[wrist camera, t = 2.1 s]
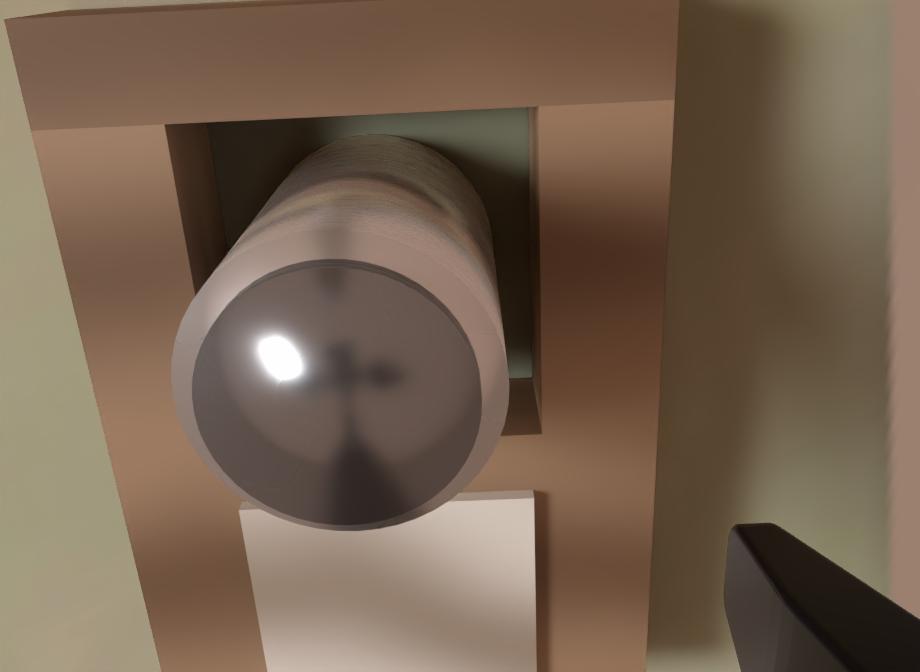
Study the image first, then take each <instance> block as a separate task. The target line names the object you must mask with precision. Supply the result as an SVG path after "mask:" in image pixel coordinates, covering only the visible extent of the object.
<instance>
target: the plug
mask: <svg viewBox="0 0 920 672" xmlns="http://www.w3.org/2000/svg"><path fill="white" fill-rule="evenodd" d="M171 382H172V390H173V398H174V402H175V406H176V410H177V413H178V417H179V420H180V422H181V424H182V427H183V429H184V431H185V434H186V436H187V438H188V440H189V441H190V443H191V445H192V446H193V448H194V450H195V451H196V453H197V455H198V456H199V457H200V458H201V460H202V461H203V462H204V464H205V465H206V466H207V467H208V469H209V470H210V471H211V472H212V473H213V474H214V475H215V476H216V477H217V478H218V479H219V480H220V481H221V482H222V483H223V484H224V485H225V486H227V487H228V488H229V489H230V490H232V491H233V492H234V493H235V494H237V495H238V496H239V497H241V498H242V499H244V500H246V501H247V502H249V503H250V504H252V505H254V506H255V507H257V508H259V509H261V510H263V511H265V512H267V513H269V514H271V515H273V516H275V517H278V518H281V519H284V520H287V521H290V522H292V523H295V524H299V525H304V526H308V527H312V528H317V529H325V530H333V531H364V530H374V529H381V528H385V527H390V526H395V525H399V524H402V523H405V522H408V521H411V520H414V519H416V518H419V517H421V516H423V515H425V514H427V513H429V512H431V511H434V510H435V509H437V508H438V507H440V506H442V505H443V504H445V503H446V502H448V501H450V500H451V499H452V498H453V497H455V496H456V495H457V494H458V493H460V492H461V491H462V490H463V489H465V488H466V487H467V486H468V484H469V483H470V482H471V481H472V480H473V479H474V478H475V477H476V476H477V475H478V474H479V473H480V471H481V470H482V468H483V467H484V466H485V464H486V463H487V461H488V460H489V459H490V457H491V455H492V453H493V451H494V449H495V447H496V445H497V443H498V441H499V439H500V436H501V433H502V430H503V427H504V424H505V420H506V415H507V410H508V405H509V376H508V366H507V357H506V349H505V341H504V333H503V325H502V316H501V308H500V300H499V292H498V284H497V276H496V267H495V259H494V251H493V243H492V235H491V228H490V224H489V220H488V215H487V213H486V210H485V208H484V205H483V203H482V200H481V199H480V197H479V195H478V193H477V191H476V190H475V188H474V187H473V185H472V184H471V183H470V181H469V180H468V179H467V177H466V176H465V175H464V174H463V173H462V172H461V171H460V170H459V169H458V168H457V167H456V166H455V165H454V164H453V163H452V162H450V161H449V160H448V159H447V158H445V157H444V156H443V155H441V154H439V153H438V152H436V151H434V150H433V149H431V148H429V147H427V146H425V145H422V144H420V143H418V142H415V141H412V140H409V139H405V138H402V137H396V136H390V135H373V134H368V135H360V136H352V137H348V138H344V139H340V140H337V141H335V142H332V143H330V144H327V145H325V146H323V147H321V148H320V149H318V150H316V151H314V152H313V153H311V154H310V155H308V156H307V157H306V158H304V159H303V160H302V161H301V162H299V163H298V164H297V165H296V166H295V168H294V169H293V170H292V171H291V172H290V173H289V174H288V175H287V177H286V178H285V179H284V180H283V182H282V183H281V184H280V186H279V187H278V188H277V190H276V191H275V192H274V194H273V195H272V196H271V197H270V199H269V200H268V201H267V203H266V204H265V205H264V207H263V208H262V209H261V211H260V212H259V213H258V214H257V216H256V217H255V218H254V220H253V221H252V222H251V224H250V225H249V226H248V228H247V229H246V230H245V231H244V233H243V234H242V235H241V237H240V238H239V239H238V241H237V242H236V243H235V245H234V246H233V247H232V248H231V250H230V251H229V252H228V254H227V255H226V256H225V258H224V259H223V260H222V262H221V263H220V264H219V266H218V267H217V268H216V269H215V271H214V272H213V273H212V275H211V276H210V277H209V279H208V280H207V281H206V283H205V284H204V285H203V286H202V288H201V289H200V291H199V292H198V293H197V295H196V296H195V298H194V299H193V300H192V302H191V303H190V305H189V307H188V309H187V311H186V313H185V315H184V317H183V319H182V321H181V324H180V327H179V330H178V333H177V335H176V338H175V343H174V349H173V354H172V362H171Z"/></svg>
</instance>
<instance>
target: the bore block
mask: <svg viewBox="0 0 920 672" xmlns="http://www.w3.org/2000/svg"><path fill="white" fill-rule="evenodd" d="M679 6H680V0H262V1H242V2H222V3H202V4H183V5H163V6H143V7H123V8H103V9H83V10H66V11H59V12H52V13H45V14H38V15H31V16H25V17H18V18H11V19H4V21H5V25H6V29H7V33H8V38H9V42H10V46H11V50H12V54H13V58H14V62H15V67H16V71H17V75H18V79H19V83H20V87H21V91H22V95H23V100H24V104H25V108H26V112H27V116H28V120H29V124H30V129H31V133H32V137H33V141H34V145H35V149H36V153H37V158H38V162H39V166H40V170H41V174H42V178H43V182H44V187H45V191H46V195H47V199H48V203H49V207H50V211H51V215H52V220H53V224H54V228H55V232H56V236H57V240H58V244H59V249H60V253H61V257H62V261H63V265H64V269H65V273H66V278H67V282H68V286H69V290H70V294H71V298H72V302H73V307H74V311H75V315H76V319H77V323H78V327H79V331H80V336H81V340H82V344H83V348H84V352H85V356H86V360H87V364H88V369H89V373H90V377H91V381H92V385H93V389H94V393H95V398H96V402H97V406H98V410H99V414H100V418H101V422H102V427H103V431H104V435H105V439H106V443H107V447H108V451H109V456H110V460H111V464H112V468H113V472H114V476H115V480H116V485H117V489H118V493H119V497H120V501H121V505H122V509H123V513H124V518H125V522H126V526H127V530H128V534H129V538H130V542H131V547H132V551H133V555H134V559H135V563H136V567H137V571H138V576H139V580H140V584H141V588H142V592H143V596H144V600H145V605H146V609H147V613H148V617H149V621H150V625H151V629H152V633H153V638H154V642H155V646H156V650H157V654H158V658H159V662H160V667H161V671H162V672H646V655H647V635H648V615H649V596H650V576H651V556H652V537H653V517H654V497H655V478H656V458H657V438H658V419H659V399H660V379H661V360H662V340H663V320H664V301H665V281H666V261H667V242H668V222H669V202H670V183H671V163H672V143H673V124H674V104H675V84H676V65H677V45H678V25H679ZM517 107H528V121H529V188H530V255H531V321H532V378H529V379H509V405H508V410H507V415H506V420H505V424H504V427H503V430H502V433H501V436H500V439H499V441H498V443H497V445H496V447H495V449H494V451H493V453H492V455H491V457H490V459H489V460H488V461H487V463H486V464H485V466H484V467H483V468H482V470H481V471H480V473H479V474H478V475H477V476H476V477H475V478H474V479H473V480H472V481H471V482H470V483H469V484H468V486H467V487H466V488H465V489H463V490H462V491H461V492H460V493H458V494H457V495H456V496H455V497H453V498H452V499H451V500H450V501H448V502H446V503H445V504H443V505H442V506H440V507H438V508H437V509H435V510H434V511H431V512H429V513H427V514H425V515H423V516H421V517H419V518H416V519H414V520H411V521H408V522H405V523H402V524H399V525H395V526H390V527H385V528H381V529H374V530H364V531H333V530H325V529H317V528H312V527H308V526H304V525H299V524H295V523H292V522H290V521H287V520H284V519H281V518H278V517H275V516H273V515H271V514H269V513H267V512H265V511H263V510H261V509H259V508H257V507H255V506H254V505H252V504H250V503H249V502H247V501H246V500H244V499H242V498H241V497H239V496H238V495H237V494H235V493H234V492H233V491H232V490H230V489H229V488H228V487H227V486H225V485H224V484H223V483H222V482H221V481H220V480H219V479H218V478H217V477H216V476H215V475H214V474H213V473H212V472H211V471H210V470H209V469H208V467H207V466H206V465H205V464H204V462H203V461H202V460H201V458H200V457H199V456H198V455H197V453H196V451H195V450H194V448H193V446H192V445H191V443H190V441H189V440H188V438H187V436H186V434H185V431H184V429H183V427H182V424H181V422H180V420H179V417H178V413H177V410H176V406H175V402H174V398H173V390H172V382H171V362H172V354H173V349H174V343H175V338H176V335H177V333H178V330H179V327H180V324H181V321H182V319H183V317H184V315H185V313H186V311H187V309H188V307H189V305H190V303H191V302H192V300H193V299H194V298H195V296H196V295H197V293H198V292H199V291H200V289H201V288H202V286H203V285H204V284H205V283H206V281H207V280H208V279H209V277H210V276H211V275H212V273H213V272H214V271H215V269H216V268H217V267H218V266H219V264H220V263H221V262H222V260H223V259H224V258H225V256H226V255H227V254H228V252H227V245H226V239H225V233H224V227H223V220H222V214H221V208H220V202H219V196H218V189H217V183H216V177H215V171H214V165H213V158H212V152H211V146H210V140H209V134H208V127H207V122H225V121H246V120H267V119H288V118H308V117H329V116H350V115H371V114H392V113H413V112H433V111H454V110H475V109H496V108H517Z"/></svg>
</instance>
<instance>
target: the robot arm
mask: <svg viewBox="0 0 920 672" xmlns="http://www.w3.org/2000/svg"><path fill="white" fill-rule="evenodd" d="M724 604H725V611H726V615H727V619H728V623H729V627H730V631H731V634H732V638H733V642H734V646H735V650H736V654H737V657H738V661H739V665H740V669H741V672H920V619H918V618H917V617H915V616H914V615H912V614H911V613H909V612H908V611H906V610H905V609H903V608H902V607H900V606H899V605H897V604H896V603H894V602H893V601H891V600H890V599H888V598H887V597H885V596H883V595H882V594H880V593H879V592H877V591H876V590H874V589H873V588H871V587H870V586H868V585H867V584H865V583H864V582H862V581H861V580H859V579H858V578H856V577H855V576H853V575H852V574H850V573H849V572H847V571H846V570H844V569H843V568H841V567H840V566H838V565H837V564H835V563H834V562H832V561H831V560H829V559H828V558H826V557H824V556H823V555H821V554H820V553H818V552H817V551H815V550H814V549H812V548H811V547H809V546H808V545H806V544H805V543H803V542H802V541H800V540H799V539H797V538H796V537H794V536H793V535H791V534H790V533H788V532H787V531H785V530H784V529H782V528H781V527H779V526H777V525H775V524H772V523H753V524H737V525H735V526H734V527H733V528H732V529H731V531H730V534H729V539H728V549H727V560H726V571H725V582H724Z"/></svg>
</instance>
